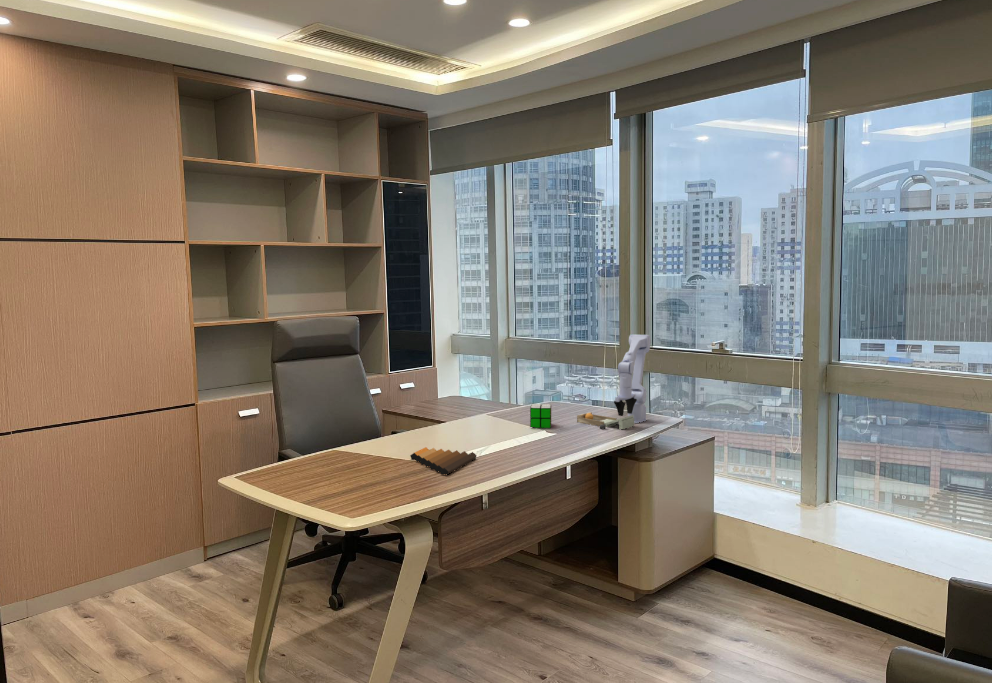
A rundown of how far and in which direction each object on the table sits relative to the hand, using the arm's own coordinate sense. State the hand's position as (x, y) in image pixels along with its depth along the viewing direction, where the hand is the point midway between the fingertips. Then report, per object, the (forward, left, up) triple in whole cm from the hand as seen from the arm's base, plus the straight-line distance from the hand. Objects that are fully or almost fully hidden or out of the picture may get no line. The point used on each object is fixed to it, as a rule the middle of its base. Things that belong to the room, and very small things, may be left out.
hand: (625, 414), depth 340 cm
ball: (0, -21, -4) cm, 22 cm away
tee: (+9, -6, -6) cm, 13 cm away
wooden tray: (0, -17, -6) cm, 18 cm away
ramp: (0, -6, -6) cm, 9 cm away
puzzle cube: (+24, -32, -7) cm, 41 cm away
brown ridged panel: (+105, -19, -7) cm, 107 cm away
